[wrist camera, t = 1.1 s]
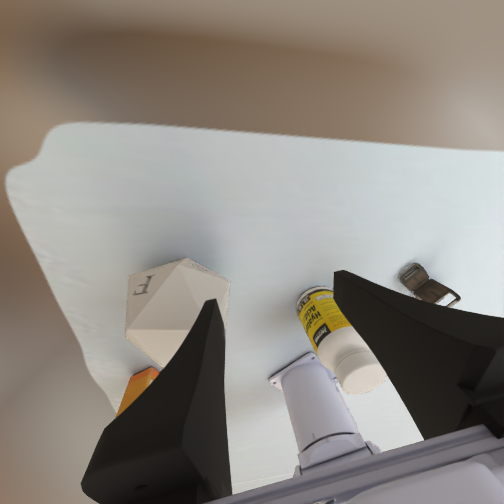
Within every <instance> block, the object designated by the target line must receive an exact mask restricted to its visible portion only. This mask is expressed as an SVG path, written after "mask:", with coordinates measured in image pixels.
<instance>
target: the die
mask: <svg viewBox="0 0 504 504" xmlns="http://www.w3.org/2000/svg"><path fill="white" fill-rule="evenodd" d="M229 290H230V281H229V280H227V279H225V278H223V277H221V276H220V275H218V274H216V273H214V272H212V271H211V270H209V269H207V268H205V267H203V266H202V265H200V264H198V263H196V262H194V261H193V260H191V259H189V258H184V259H181V260H177V261H174V262H171V263H168V264H165V265H162V266H159V267H155V268H152V269H149V270H146V271H143V272H140V273H136V274H133V275H130V276H129V280H128V296H127V312H126V328H125V337H126V338H127V339H128V340H129V341H131V342H132V343H133V344H134V345H135V346H137V347H138V348H139V349H140V350H141V351H143V352H144V353H145V354H146V355H148V356H149V357H150V358H151V359H152V360H154V361H155V362H156V363H157V364H158V365H160V366H161V367H162V368H163V369H164V367H165V366H166V365H167V364H168V362H169V361H170V360H171V358H172V357H173V356H174V354H175V353H176V351H177V350H178V349H179V347H180V346H181V344H182V343H183V341H184V339H185V338H186V336H187V335H188V333H189V331H190V330H191V328H192V326H193V324H194V322H195V321H196V319H197V317H198V315H199V313H200V311H201V309H202V307H203V305H204V302H205V301H206V300H210V299H215V298H216V299H217V302H218V306H219V309H220V312H221V316H222V319H223V322H224V329H225V334H226V323H227V312H228V301H229Z"/></svg>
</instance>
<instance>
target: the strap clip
mask: <svg viewBox="0 0 504 504" xmlns="http://www.w3.org/2000/svg"><path fill="white" fill-rule="evenodd" d="M416 266H417V269H416V270H415V271H413V272H412V273H411V274H410V275H409V276H407V277H406V278H405V279H404V280H403V277H404V276H405V275H406V274H407V273H409V272H410V271H411V270H412V269H413V268H415V267H416ZM428 278H429V276H428V274H427V273H426V271H425V269H424V268H423V267H422V266H421V265H420V264H418V263H414V264H412V265H411V266H410V267H409V268H408V269H406V270H405V271H404V272H403V273H402V274H400V275H399V281H400V282H401V283H402V284H403V285H404V286H405V287H406V288H408V289H409V290H410V291H415V292H414V296H415V297H416V299H420V300H423V301H426V302H430V303H433V304H437V303H438V302H440V301H441V300H442V299H444V298H445V296H446V295H447V294H449V293H451V294H452V295H453V296H455V297H456V299H455V300H453V301H452V302H451V303H449V304H448V305H447V306H445V307H449V308H451V307H452V306H453V305H455V304H456V303H457V302H459V301H460V300H461V298H460V296H459V295H458V294H457V293H455V292H454V291H453V290H452V289H450V288H448V287H446V286H444V285H442V284H440V283H439V282H437V281H435V280H433V279H430V280H429V279H428Z"/></svg>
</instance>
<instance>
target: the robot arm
mask: <svg viewBox="0 0 504 504" xmlns="http://www.w3.org/2000/svg"><path fill="white" fill-rule="evenodd" d="M333 299H334V301H335V303H336V304H337V306H338V308H339V309H340V311H341V312H342V314H343V315H344V316H345V318H346V319H347V320H348V322H349V323H350V324H351V325H352V327H353V328H354V329H355V330H356V332H357V333H358V334H359V335H360V337H361V338H362V339H363V340H364V342H365V343H366V344H367V345H368V347H369V348H370V350H371V351H372V352H373V354H374V355H375V357H376V358H377V360H378V361H379V363H380V365H381V366H382V368H383V369H384V371H385V372H386V374H387V376H388V377H389V379H390V380H391V382H392V384H393V385H394V387H395V389H396V390H397V392H398V394H399V395H400V397H401V399H402V401H403V402H404V404H405V406H406V407H407V409H408V411H409V413H410V415H411V416H412V418H413V420H414V422H415V424H416V426H417V427H418V429H419V431H420V433H421V435H422V437H423V438H424V441H421V442H417V443H414V444H410V445H407V446H403V447H400V448H396V449H392V450H389V451H385V452H382V451H381V450H380V448H379V447H378V446H376V445H374V444H373V443H372V442H371V441H366V442H364V440H363V438H362V436H361V434H360V433H359V432H358V427H357V425H356V422H355V420H354V418H353V416H352V414H351V412H350V410H349V408H348V407H347V405H346V403H345V401H344V399H343V397H342V395H341V393H340V391H339V389H338V387H337V385H336V383H337V382H338V380H337V378H336V375H335V373H334V372H333V371H331V370H329V369H327V368H326V367H324V366H323V364H322V363H321V362H320V360H319V358H318V357H317V356H316V355H315V354H314V353H312V352H310V353H308V354H306V355H305V356H303V357H302V358H300V359H299V360H297V361H296V362H294V363H292V364H291V365H289V366H288V367H286V368H285V369H283V370H282V371H280V372H279V373H277V374H276V375H274V376H272V377H271V378H270V379H269V382H270V383H271V384H272V385H274V386H275V387H277V388H278V389H279V390H281V391H282V392H283V394H284V397H285V401H286V405H287V409H288V412H289V416H290V420H291V423H292V427H293V431H294V434H295V438H296V442H297V446H298V449H299V454H298V459H299V462H300V465H298V466H296V467H295V472H294V475H293V478H291V479H287V480H284V481H280V482H277V483H273V484H270V485H266V486H263V487H259V488H256V489H252V490H248V491H245V492H241V493H238V494H234V495H232V485H231V474H230V463H229V451H228V439H227V425H226V410H225V393H224V370H225V329H224V322H223V319H222V316H221V312H220V309H219V306H218V302H217V299H216V298H215V299H210V300H206V301H205V302H204V305H203V307H202V309H201V311H200V313H199V315H198V317H197V319H196V321H195V322H194V324H193V326H192V328H191V330H190V331H189V333H188V335H187V336H186V338H185V339H184V341H183V343H182V344H181V346H180V347H179V349H178V350H177V351H176V353H175V354H174V356H173V357H172V358H171V360H170V361H169V362H168V364H167V365H166V366H165V367H164V369H163V370H162V371H161V372H160V373H159V374H158V376H157V377H156V378H155V379H154V380H153V381H152V383H151V384H150V385H149V386H148V387H147V388H146V389H145V390H144V391H143V392H142V393H141V394H140V395H139V396H138V397H137V398H136V399H135V400H134V401H133V402H132V403H131V404H130V405H129V406H128V407H127V408H126V409H125V410H124V411H123V412H122V413H121V414H120V415H119V416H118V417H116V418H115V419H114V420H113V421H112V422H111V423H110V424H109V425H108V426H107V427H106V428H105V429H104V431H103V433H102V435H101V437H100V439H99V441H98V443H97V446H96V448H95V451H94V453H93V455H92V458H91V460H90V463H89V465H88V468H87V470H86V472H85V474H84V477H83V479H82V482H81V486H82V490H83V492H84V493H85V494H86V495H87V496H88V497H90V498H91V499H93V500H94V501H96V502H98V503H99V504H504V318H501V317H495V316H488V315H483V314H477V313H472V312H467V311H462V310H458V309H453V308H449V307H445V306H441V305H437V304H433V303H430V302H426V301H423V300H420V299H416V298H413V297H410V296H407V295H404V294H401V293H398V292H396V291H393V290H390V289H388V288H385V287H383V286H380V285H378V284H376V283H373V282H371V281H369V280H366V279H364V278H362V277H360V276H357V275H355V274H353V273H350V272H348V271H345V270H341V271H336V272H334V287H333Z"/></svg>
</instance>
